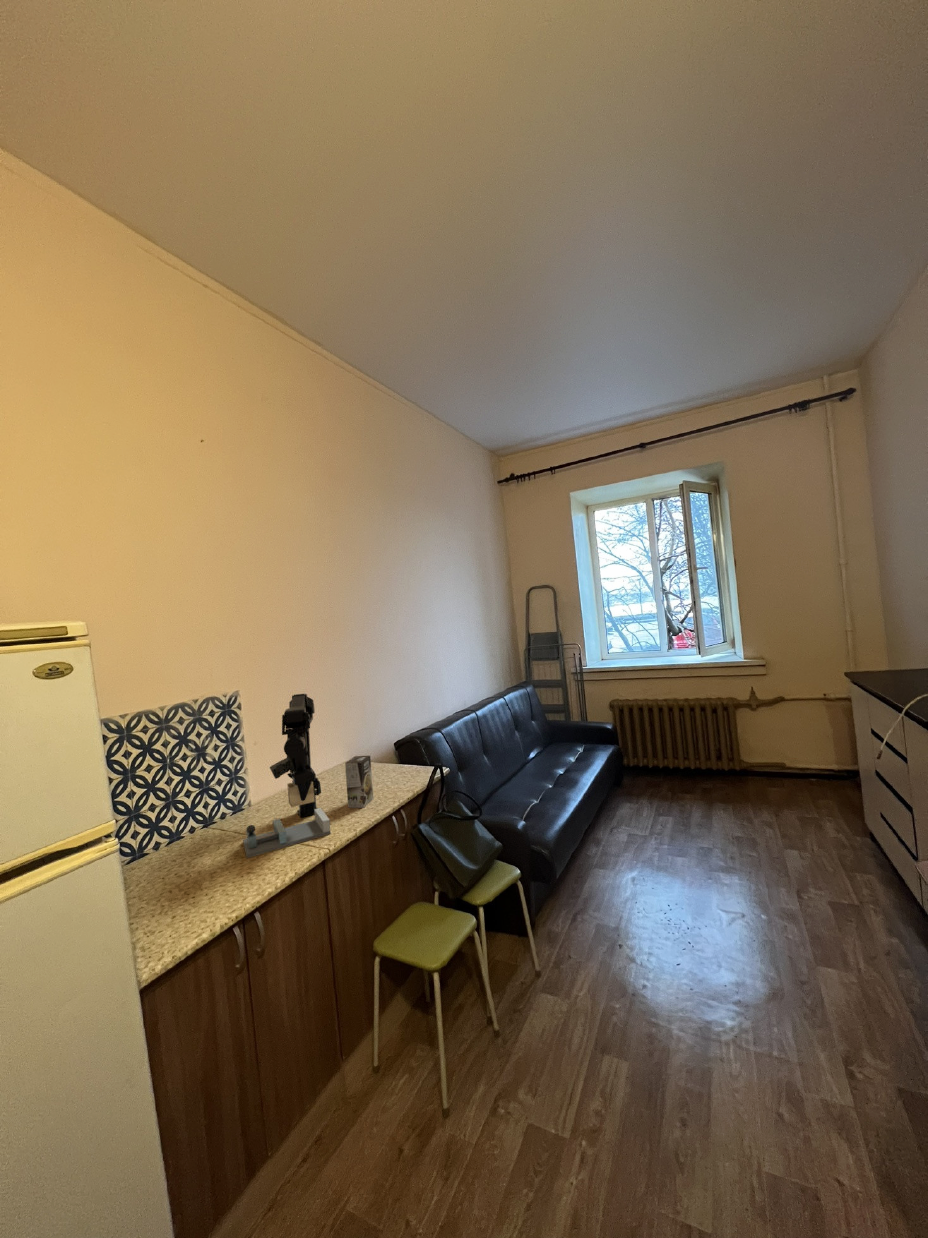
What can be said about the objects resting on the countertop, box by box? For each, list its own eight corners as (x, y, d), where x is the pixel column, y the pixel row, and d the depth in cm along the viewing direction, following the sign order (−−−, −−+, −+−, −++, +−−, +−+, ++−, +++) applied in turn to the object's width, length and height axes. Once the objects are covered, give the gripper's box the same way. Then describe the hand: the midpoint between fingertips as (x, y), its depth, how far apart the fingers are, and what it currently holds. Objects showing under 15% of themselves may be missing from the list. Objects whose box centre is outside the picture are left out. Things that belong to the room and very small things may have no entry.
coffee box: (364, 808, 170) (361, 762, 170) (347, 808, 171) (344, 762, 171) (374, 798, 179) (371, 755, 179) (358, 798, 180) (354, 755, 180)
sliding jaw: (245, 837, 149) (244, 819, 149) (280, 828, 154) (278, 811, 154) (249, 852, 139) (248, 833, 139) (286, 842, 144) (285, 823, 144)
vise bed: (243, 842, 149) (241, 828, 149) (321, 821, 161) (320, 808, 161) (247, 858, 138) (245, 842, 138) (330, 834, 150) (329, 819, 150)
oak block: (288, 802, 153) (287, 783, 153) (311, 797, 156) (309, 778, 156) (291, 807, 148) (289, 788, 148) (314, 801, 152) (313, 782, 152)
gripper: (266, 748, 156) (270, 796, 156) (275, 761, 140) (279, 814, 140) (302, 741, 162) (305, 788, 162) (314, 753, 146) (317, 804, 146)
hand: (301, 798), depth 152 cm, fingers closed on oak block, 5 cm apart
